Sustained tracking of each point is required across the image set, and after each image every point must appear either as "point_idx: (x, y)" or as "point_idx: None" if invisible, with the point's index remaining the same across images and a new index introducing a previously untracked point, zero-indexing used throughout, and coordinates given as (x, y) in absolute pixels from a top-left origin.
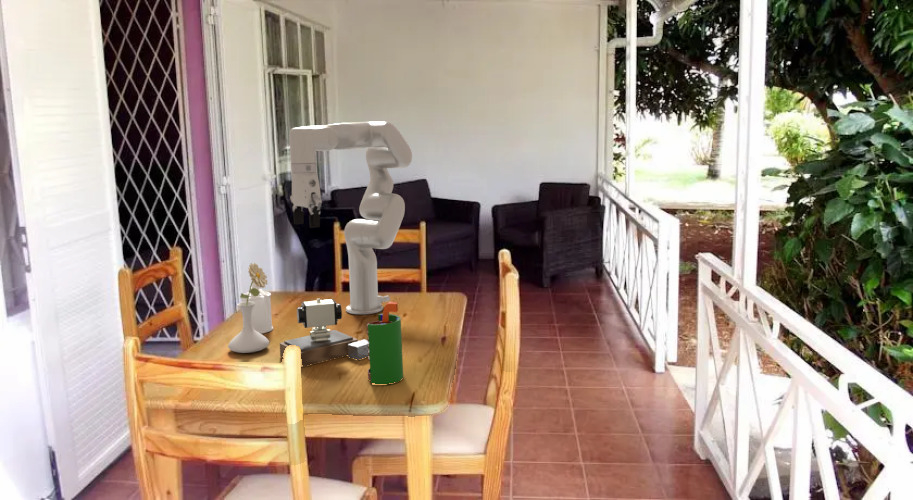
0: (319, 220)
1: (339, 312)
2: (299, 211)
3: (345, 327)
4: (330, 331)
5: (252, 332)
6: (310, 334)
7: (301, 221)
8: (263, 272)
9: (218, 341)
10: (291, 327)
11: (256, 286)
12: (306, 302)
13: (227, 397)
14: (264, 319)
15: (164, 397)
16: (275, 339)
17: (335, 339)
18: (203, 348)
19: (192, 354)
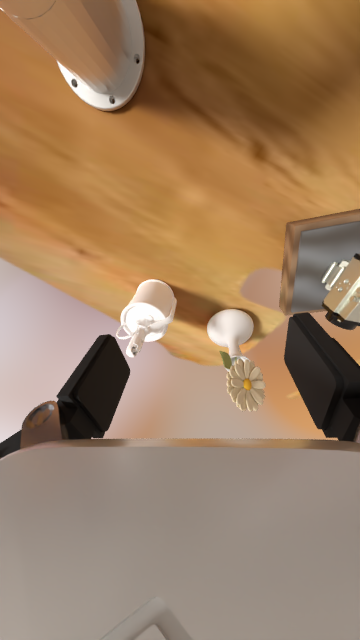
0: (330, 338)
1: None
2: (86, 414)
3: (212, 166)
4: (305, 241)
5: (240, 336)
6: (326, 288)
7: (114, 353)
8: (231, 373)
9: (178, 339)
10: (163, 255)
11: (149, 333)
12: (354, 317)
13: None
14: (170, 301)
15: (299, 395)
16: (207, 290)
17: (352, 251)
18: (194, 354)
19: (207, 364)
